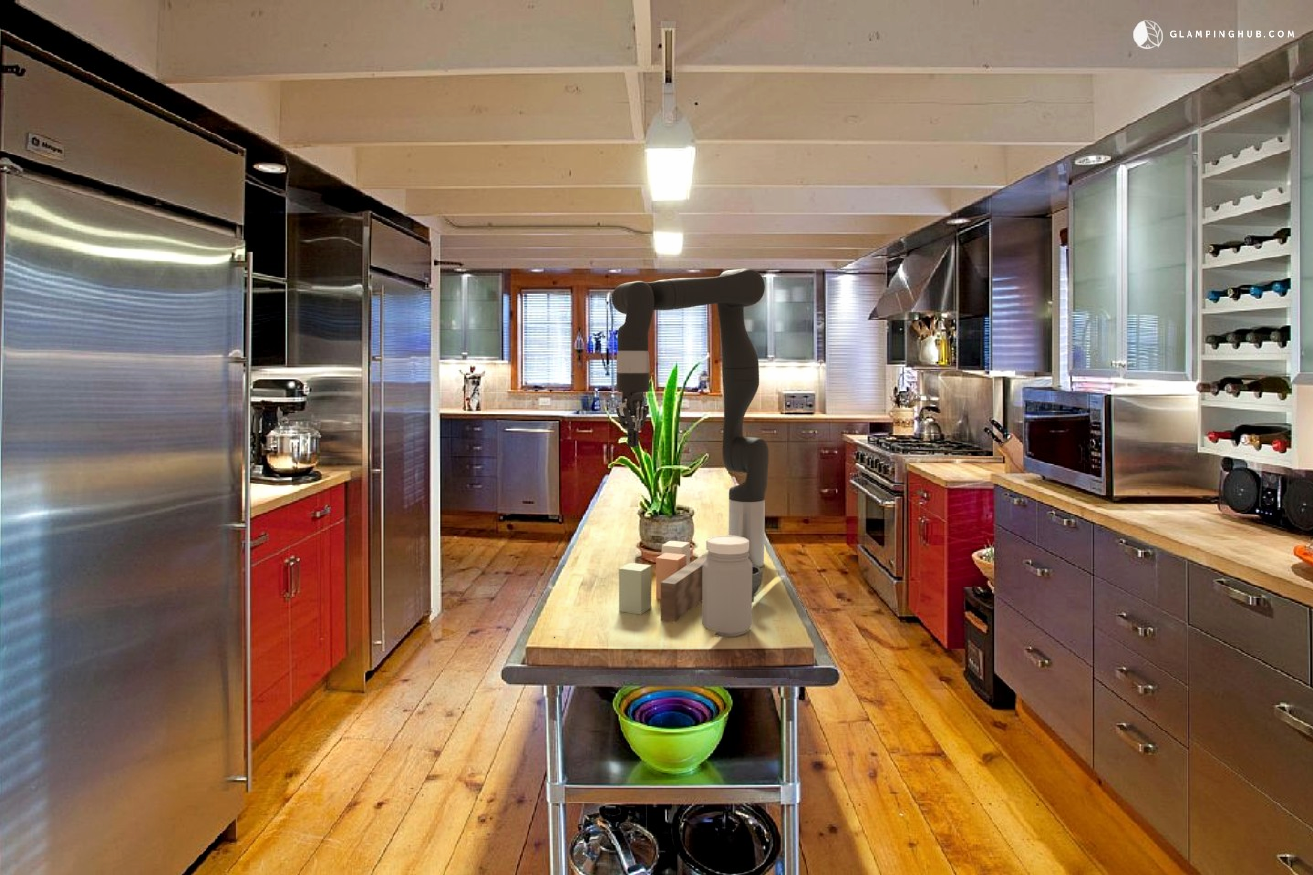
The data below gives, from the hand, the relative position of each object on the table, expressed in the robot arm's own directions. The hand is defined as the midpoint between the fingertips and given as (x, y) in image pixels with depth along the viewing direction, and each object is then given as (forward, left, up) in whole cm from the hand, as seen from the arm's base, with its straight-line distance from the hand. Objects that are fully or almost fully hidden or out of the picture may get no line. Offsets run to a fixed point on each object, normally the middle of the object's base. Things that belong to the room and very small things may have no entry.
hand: (633, 446), depth 177 cm
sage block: (+18, +9, -32) cm, 38 cm away
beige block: (-4, +9, -32) cm, 33 cm away
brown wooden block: (+7, +11, -33) cm, 35 cm away
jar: (+18, +29, -33) cm, 48 cm away
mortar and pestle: (0, +26, -33) cm, 42 cm away
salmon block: (+7, +12, -32) cm, 35 cm away
